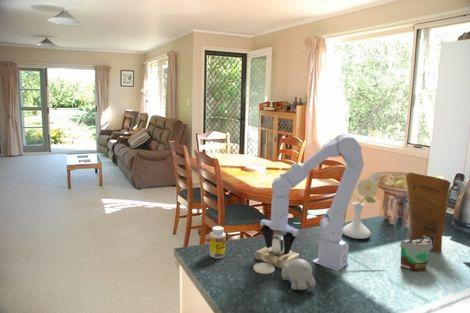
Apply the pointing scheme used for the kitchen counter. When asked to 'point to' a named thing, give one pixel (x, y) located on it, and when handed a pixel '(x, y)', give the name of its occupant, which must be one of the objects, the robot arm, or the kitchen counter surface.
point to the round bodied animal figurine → (298, 274)
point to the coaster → (264, 268)
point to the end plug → (277, 246)
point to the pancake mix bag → (427, 207)
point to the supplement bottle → (217, 242)
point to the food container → (415, 254)
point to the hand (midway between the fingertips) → (277, 250)
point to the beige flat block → (275, 257)
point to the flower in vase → (356, 227)
